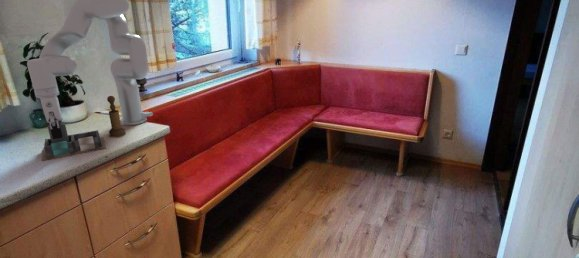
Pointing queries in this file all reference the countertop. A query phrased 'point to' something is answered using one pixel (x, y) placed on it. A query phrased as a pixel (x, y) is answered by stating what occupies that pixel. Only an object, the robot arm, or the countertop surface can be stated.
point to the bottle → (63, 130)
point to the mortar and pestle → (115, 120)
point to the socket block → (73, 145)
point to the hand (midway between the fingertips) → (58, 134)
